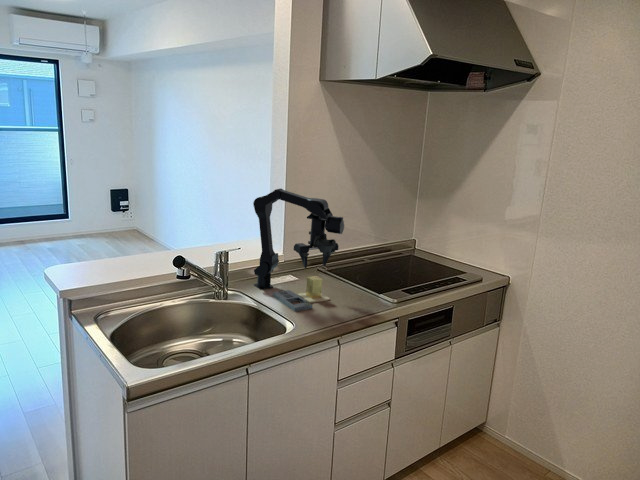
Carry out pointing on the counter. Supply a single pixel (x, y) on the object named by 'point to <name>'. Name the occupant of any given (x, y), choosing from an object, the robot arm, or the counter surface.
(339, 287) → the counter surface
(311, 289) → the brass block
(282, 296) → the grey block holder tray
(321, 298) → the pale folded cloth
